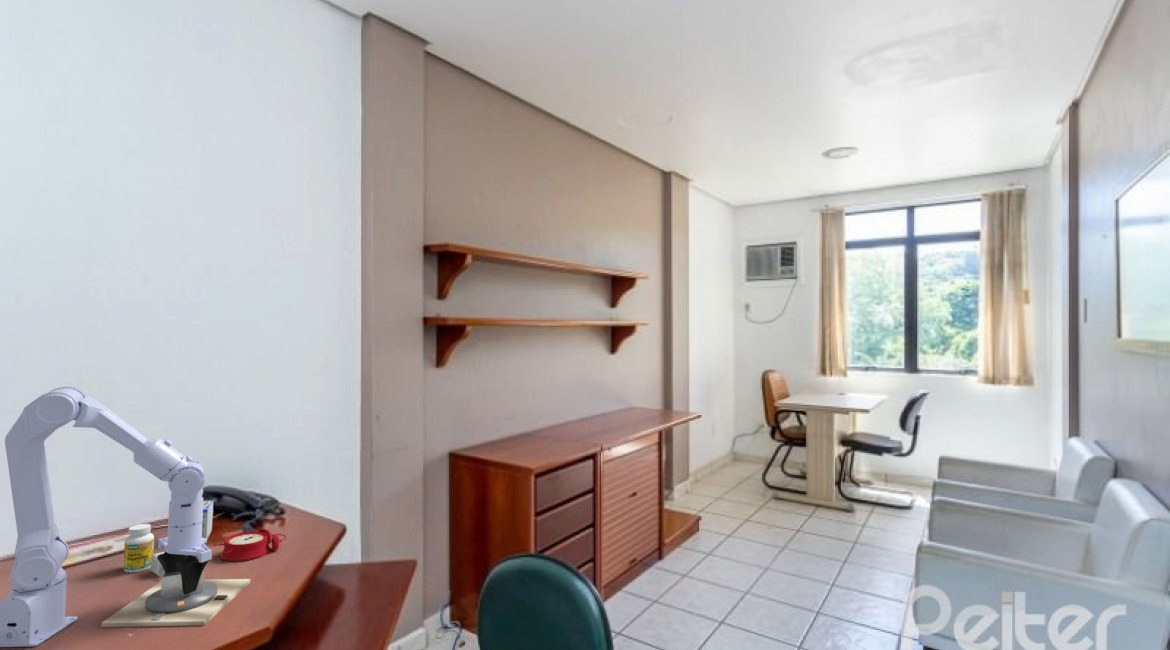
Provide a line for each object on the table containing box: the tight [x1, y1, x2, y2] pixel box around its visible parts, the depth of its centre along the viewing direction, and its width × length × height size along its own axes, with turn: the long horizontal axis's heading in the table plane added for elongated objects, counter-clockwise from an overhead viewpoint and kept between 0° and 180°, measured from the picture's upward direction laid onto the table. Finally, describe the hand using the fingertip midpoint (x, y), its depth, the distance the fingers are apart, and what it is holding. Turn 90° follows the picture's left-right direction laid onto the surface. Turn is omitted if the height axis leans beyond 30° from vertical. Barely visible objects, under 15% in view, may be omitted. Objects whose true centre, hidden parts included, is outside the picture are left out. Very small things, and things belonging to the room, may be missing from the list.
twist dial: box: [145, 569, 218, 613], centre depth 115 cm, size 12×12×5 cm
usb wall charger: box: [150, 551, 166, 578], centre depth 128 cm, size 4×7×4 cm, turn 55°
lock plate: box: [100, 578, 251, 628], centre depth 115 cm, size 18×18×1 cm
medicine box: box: [202, 500, 214, 540], centre depth 149 cm, size 8×4×9 cm, turn 25°
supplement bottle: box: [123, 523, 155, 574], centre depth 130 cm, size 5×5×10 cm
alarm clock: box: [213, 528, 287, 562], centre depth 142 cm, size 10×6×15 cm
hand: (182, 589), depth 115 cm, fingers closed on twist dial, 4 cm apart
